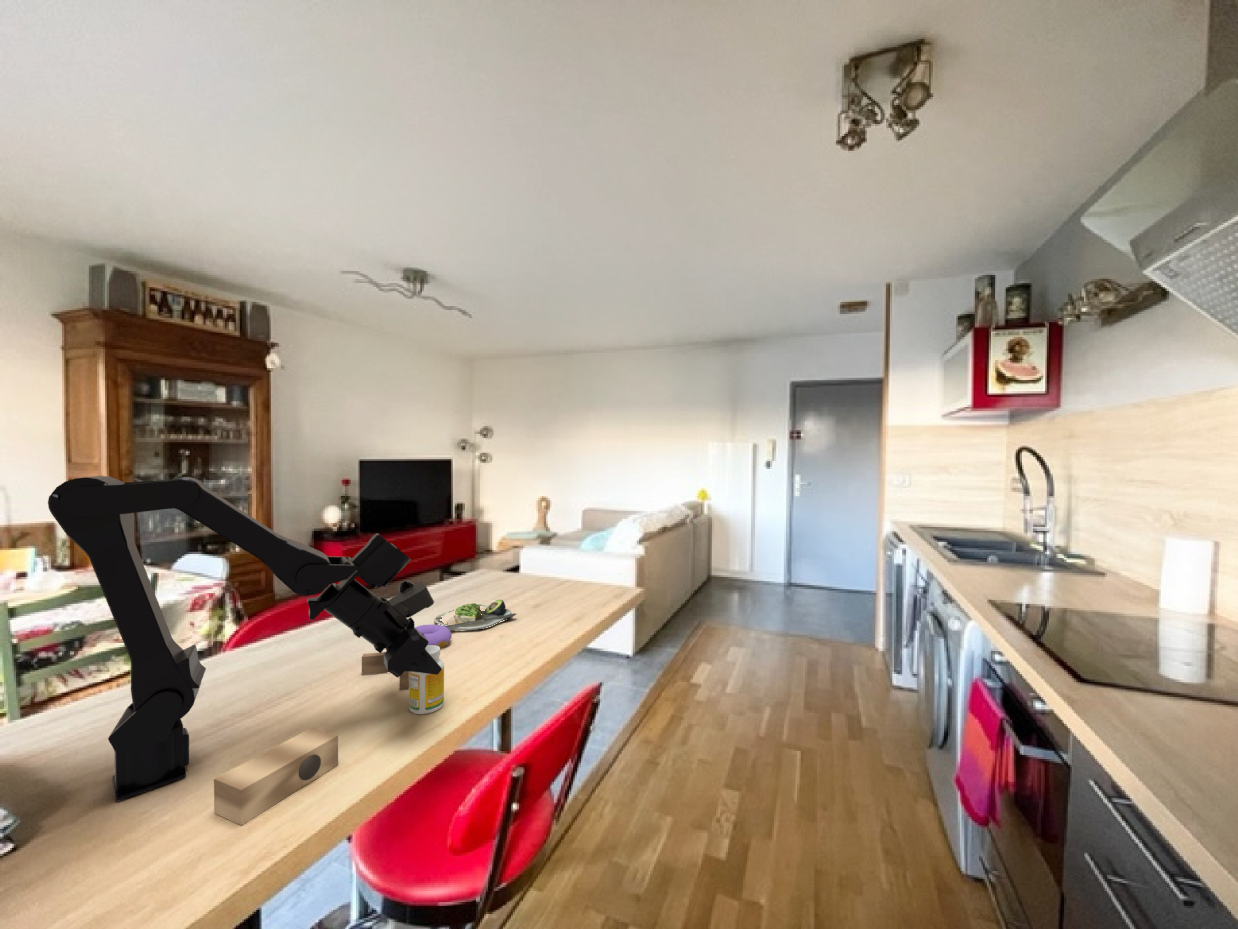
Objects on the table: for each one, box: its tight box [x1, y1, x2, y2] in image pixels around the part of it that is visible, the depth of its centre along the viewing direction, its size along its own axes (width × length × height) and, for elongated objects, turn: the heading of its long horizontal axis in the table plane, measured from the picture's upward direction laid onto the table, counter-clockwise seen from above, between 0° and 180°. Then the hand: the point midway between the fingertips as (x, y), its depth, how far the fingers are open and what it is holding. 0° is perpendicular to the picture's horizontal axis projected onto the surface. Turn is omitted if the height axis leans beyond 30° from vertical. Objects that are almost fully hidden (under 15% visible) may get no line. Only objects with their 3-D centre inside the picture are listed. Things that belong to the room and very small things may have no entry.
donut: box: [415, 624, 452, 649], centre depth 110 cm, size 10×9×5 cm
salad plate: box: [433, 599, 517, 631], centre depth 125 cm, size 19×18×5 cm
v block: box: [361, 651, 410, 691], centre depth 95 cm, size 8×13×4 cm, turn 59°
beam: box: [213, 727, 339, 826], centre depth 62 cm, size 12×5×4 cm, turn 157°
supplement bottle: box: [408, 645, 445, 715], centre depth 83 cm, size 5×5×10 cm
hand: (435, 665), depth 83 cm, fingers closed on supplement bottle, 5 cm apart
